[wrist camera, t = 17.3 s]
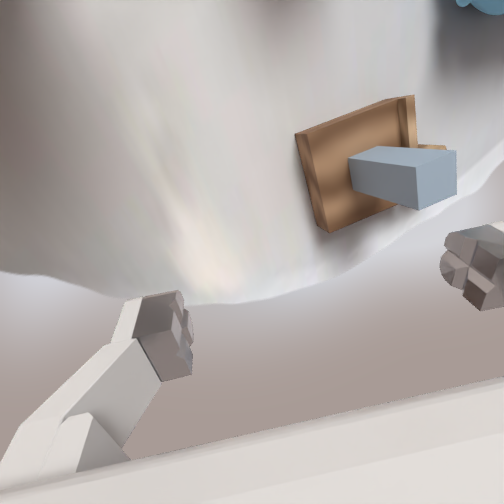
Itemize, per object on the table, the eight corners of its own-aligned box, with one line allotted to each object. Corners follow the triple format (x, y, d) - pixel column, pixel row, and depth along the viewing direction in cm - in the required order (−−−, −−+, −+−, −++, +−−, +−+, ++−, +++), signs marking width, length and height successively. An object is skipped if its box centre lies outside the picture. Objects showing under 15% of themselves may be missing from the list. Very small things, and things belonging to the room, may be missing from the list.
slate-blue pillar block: (347, 157, 38) (415, 167, 28) (377, 145, 39) (456, 150, 28) (353, 190, 40) (418, 210, 30) (381, 178, 41) (456, 194, 30)
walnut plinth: (294, 133, 40) (312, 134, 35) (384, 99, 41) (414, 94, 36) (317, 225, 46) (334, 236, 41) (395, 192, 47) (421, 199, 42)
